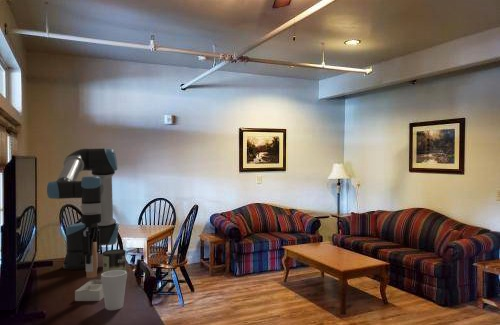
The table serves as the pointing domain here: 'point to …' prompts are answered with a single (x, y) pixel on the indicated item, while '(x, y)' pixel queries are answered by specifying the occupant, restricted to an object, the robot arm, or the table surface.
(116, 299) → the foam cup
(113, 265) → the coffee can
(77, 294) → the bore block
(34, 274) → the table surface
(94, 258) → the pin
